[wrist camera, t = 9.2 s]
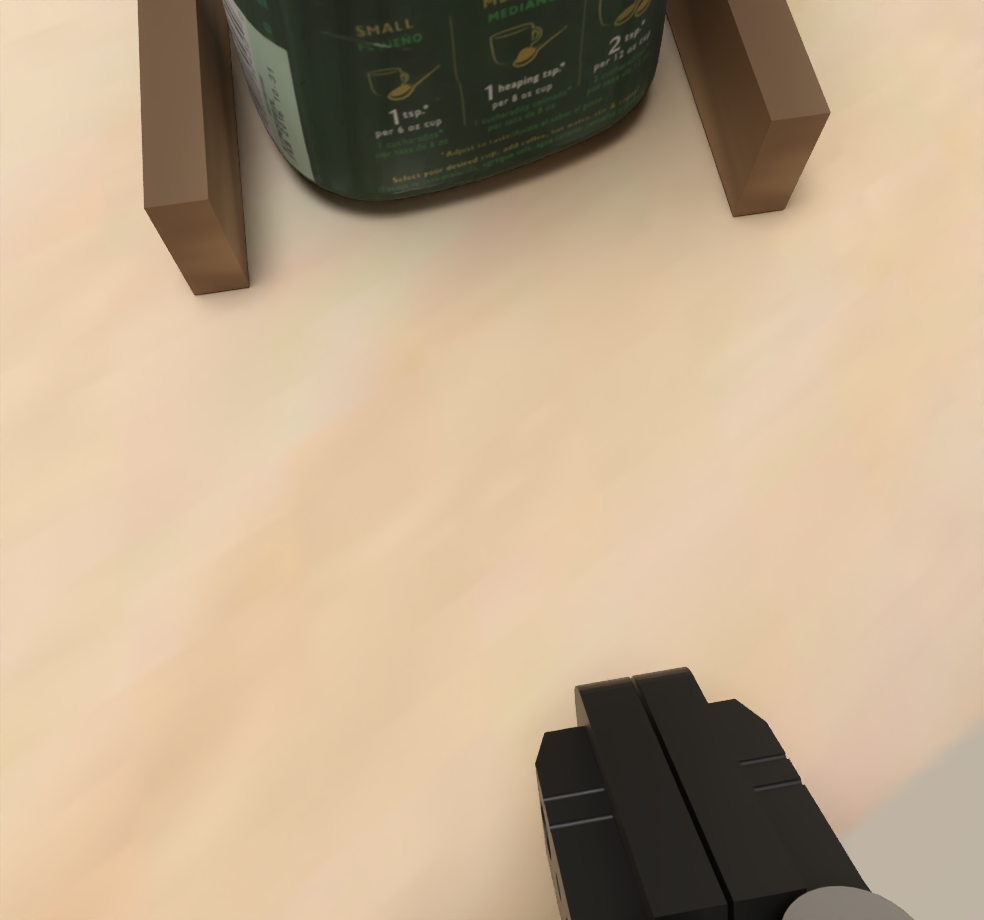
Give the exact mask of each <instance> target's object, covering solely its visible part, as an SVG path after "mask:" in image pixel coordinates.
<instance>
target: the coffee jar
mask: <svg viewBox="0 0 984 920" xmlns="http://www.w3.org/2000/svg"><path fill="white" fill-rule="evenodd" d="M222 1H223V5H224V9H225V13H226V17H227V21H228V24H229V27H230V31H231V34H232V37H233V40H234V44H235V47H236V50H237V54H238V57H239V60H240V64H241V67H242V70H243V73H244V76H245V79H246V82H247V85H248V88H249V91H250V93H251V96H252V99H253V102H254V104H255V106H256V108H257V111H258V113H259V115H260V117H261V119H262V121H263V123H264V125H265V127H266V129H267V131H268V133H269V134H270V136H271V138H272V139H273V141H274V142H275V144H276V146H277V147H278V149H279V151H280V152H281V153H282V155H283V156H284V157H285V159H286V160H287V161H288V163H289V164H290V165H291V166H292V167H293V168H294V169H295V170H297V171H298V172H299V173H300V174H301V175H302V176H304V177H305V178H307V179H308V180H310V181H311V182H313V183H314V184H316V185H318V186H320V187H322V188H323V189H325V190H327V191H331V192H334V193H336V194H339V195H342V196H345V197H349V198H352V199H356V200H366V201H387V200H394V199H402V198H408V197H413V196H417V195H421V194H426V193H431V192H435V191H441V190H446V189H449V188H452V187H455V186H459V185H464V184H468V183H471V182H475V181H479V180H483V179H487V178H489V177H492V176H495V175H498V174H500V173H503V172H505V171H508V170H512V169H515V168H517V167H520V166H523V165H526V164H529V163H532V162H535V161H537V160H539V159H542V158H544V157H547V156H549V155H552V154H554V153H556V152H559V151H561V150H564V149H566V148H568V147H571V146H573V145H575V144H577V143H580V142H582V141H584V140H586V139H588V138H590V137H592V136H594V135H596V134H598V133H600V132H602V131H604V130H606V129H608V128H609V127H611V126H612V125H614V124H615V123H616V122H618V121H619V120H620V119H622V118H623V117H624V116H625V115H627V114H628V113H629V112H630V111H631V110H632V109H633V108H634V107H635V106H636V105H637V103H638V102H639V101H640V99H641V98H642V97H643V96H644V94H645V92H646V91H647V89H648V87H649V86H650V84H651V82H652V80H653V77H654V75H655V71H656V67H657V63H658V58H659V52H660V46H661V40H662V34H663V27H664V21H665V14H666V6H667V0H222Z"/></svg>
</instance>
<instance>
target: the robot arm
mask: <svg viewBox="0 0 984 920" xmlns="http://www.w3.org/2000/svg"><path fill="white" fill-rule="evenodd" d="M575 704H576V714H577V724H578V727H574V728H568V729H563V730H557V731H551V732H545V733H544V736H543V740H542V743H541V746H540V750H539V753H538V756H537V759H536V763H535V766H536V774H537V782H538V790H539V798H540V805H541V813H542V821H543V829H544V837H545V844H546V852H547V856H548V861H549V866H550V870H551V875H552V879H553V884H554V887H555V893H556V898H557V902H558V907H559V911H560V916H561V919H562V920H913V918H912V917H910V916H909V915H908V914H907V913H906V912H905V911H904V910H902V909H901V908H900V907H898V906H897V905H895V904H894V903H892V902H891V901H889V900H887V899H885V898H883V897H881V896H879V895H877V894H874V893H872V892H871V891H870V889H869V888H868V887H867V885H866V884H865V882H864V881H863V880H862V878H861V876H860V875H859V873H858V871H857V870H856V868H855V866H854V865H853V863H852V861H851V860H850V858H849V857H848V855H847V853H846V852H845V850H844V848H843V847H842V845H841V843H840V842H839V840H838V838H837V837H836V835H835V834H834V832H833V830H832V829H831V827H830V825H829V824H828V822H827V820H826V819H825V817H824V815H823V814H822V812H821V811H820V809H819V807H818V806H817V804H816V802H815V801H814V799H813V797H812V796H811V794H810V793H809V791H808V789H807V788H806V786H805V785H802V783H801V778H800V776H799V775H798V773H797V771H796V770H795V768H794V766H793V765H792V763H791V761H790V760H789V759H787V758H786V755H785V752H784V750H783V748H782V747H781V745H780V743H779V742H778V740H777V739H776V737H775V735H774V734H773V732H772V730H771V729H770V727H769V725H768V724H767V722H766V721H764V720H763V719H762V718H760V717H759V716H757V715H756V714H755V713H753V712H752V711H751V710H749V709H748V708H747V707H745V706H744V705H743V704H741V703H740V702H739V701H737V700H736V699H731V700H726V701H720V702H714V703H709V704H708V702H707V701H706V699H705V697H704V695H703V693H702V691H701V689H700V687H699V686H698V684H697V682H696V680H695V678H694V676H693V674H692V673H691V671H690V670H689V669H688V668H687V667H681V668H676V669H670V670H664V671H658V672H653V673H647V674H641V675H635V676H632V678H630V677H625V678H619V679H614V680H608V681H602V682H596V683H590V684H585V685H579V686H575Z"/></svg>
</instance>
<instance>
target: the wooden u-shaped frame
mask: <svg viewBox="0 0 984 920" xmlns="http://www.w3.org/2000/svg"><path fill="white" fill-rule="evenodd" d="M666 13H667V16H668V19H669V22H670V25H671V28H672V31H673V34H674V37H675V40H676V43H677V46H678V49H679V52H680V55H681V58H682V62H683V65H684V68H685V71H686V74H687V77H688V80H689V83H690V86H691V89H692V92H693V95H694V98H695V101H696V104H697V107H698V110H699V113H700V116H701V119H702V122H703V125H704V128H705V131H706V134H707V138H708V141H709V144H710V147H711V150H712V153H713V156H714V159H715V162H716V165H717V168H718V171H719V174H720V177H721V180H722V183H723V186H724V189H725V192H726V195H727V198H728V201H729V204H730V207H731V211H732V214H733V216H740V215H747V214H754V213H761V212H767V211H774V210H781V209H785V207H786V205H787V203H788V200H789V198H790V196H791V194H792V192H793V190H794V188H795V186H796V184H797V182H798V180H799V177H800V175H801V173H802V171H803V169H804V167H805V165H806V163H807V161H808V159H809V157H810V155H811V152H812V150H813V148H814V146H815V144H816V142H817V140H818V138H819V136H820V134H821V132H822V130H823V127H824V125H825V123H826V121H827V119H828V117H829V115H830V113H831V112H830V110H829V107H828V105H827V102H826V100H825V97H824V95H823V92H822V90H821V87H820V85H819V82H818V80H817V77H816V75H815V72H814V70H813V67H812V65H811V62H810V60H809V57H808V55H807V52H806V50H805V47H804V45H803V42H802V40H801V37H800V35H799V32H798V30H797V27H796V25H795V22H794V20H793V17H792V15H791V12H790V10H789V7H788V5H787V2H786V0H667V6H666ZM138 26H139V58H140V90H141V122H142V154H143V186H144V209H145V210H146V212H147V214H148V216H149V217H150V219H151V221H152V223H153V224H154V226H155V228H156V229H157V231H158V233H159V235H160V236H161V238H162V240H163V242H164V243H165V245H166V247H167V248H168V250H169V252H170V254H171V255H172V257H173V259H174V261H175V262H176V264H177V266H178V267H179V269H180V271H181V273H182V274H183V276H184V278H185V280H186V281H187V283H188V285H189V286H190V288H191V290H192V292H193V293H194V295H197V294H204V293H211V292H218V291H225V290H232V289H239V288H245V287H249V278H248V266H247V254H246V241H245V229H244V217H243V204H242V192H241V180H240V168H239V155H238V143H237V131H236V118H235V106H234V94H233V82H232V69H231V57H230V45H229V32H228V21H227V17H226V13H225V9H224V5H223V1H222V0H138Z"/></svg>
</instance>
